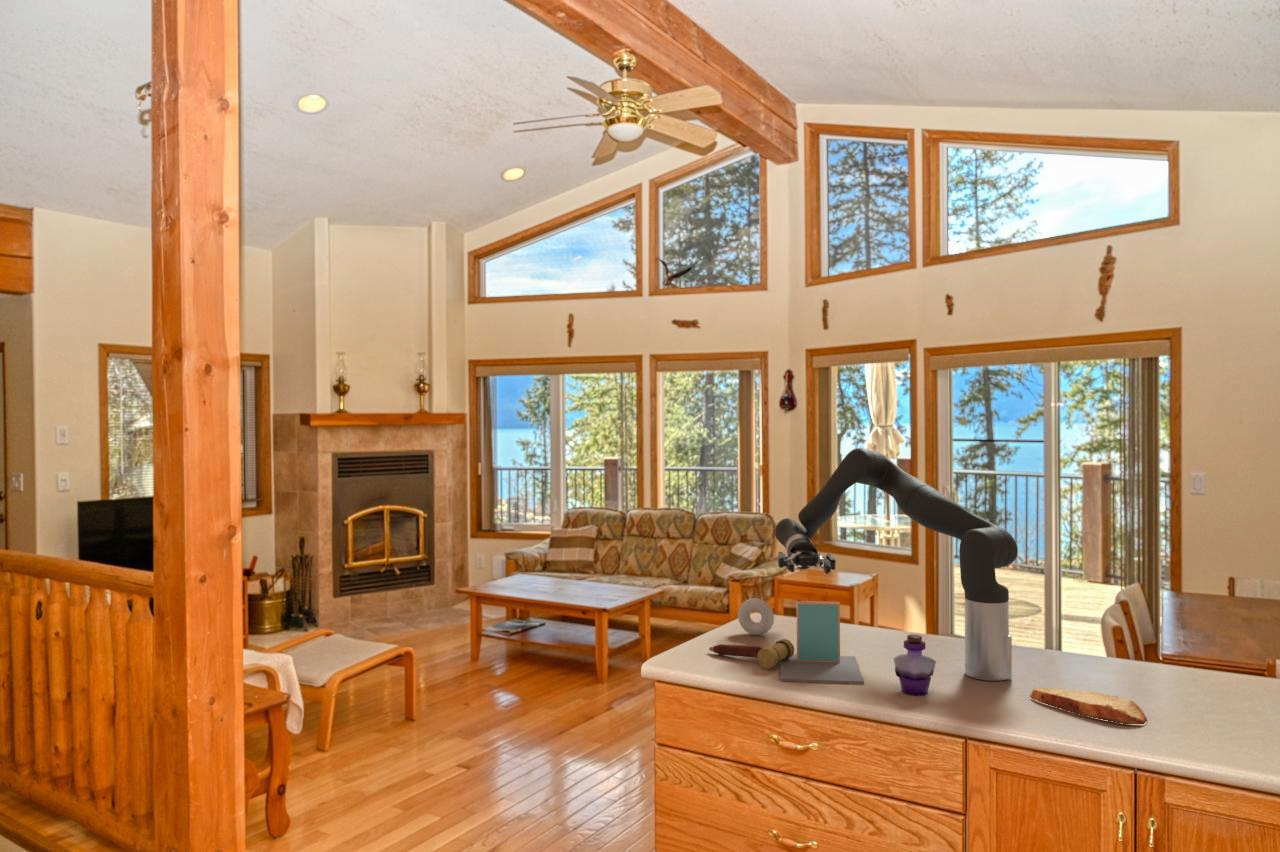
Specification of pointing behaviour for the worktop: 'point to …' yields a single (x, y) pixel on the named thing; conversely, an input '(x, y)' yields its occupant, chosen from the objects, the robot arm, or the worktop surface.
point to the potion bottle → (914, 667)
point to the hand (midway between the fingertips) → (810, 569)
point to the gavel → (759, 652)
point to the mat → (821, 671)
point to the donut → (762, 608)
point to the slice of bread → (1092, 705)
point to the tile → (818, 631)
